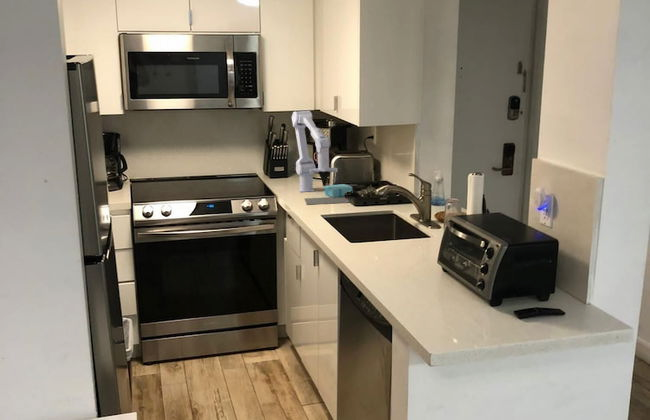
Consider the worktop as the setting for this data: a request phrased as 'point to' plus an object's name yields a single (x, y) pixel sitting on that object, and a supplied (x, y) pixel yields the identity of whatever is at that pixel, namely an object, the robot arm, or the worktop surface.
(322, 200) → the mat
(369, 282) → the worktop surface
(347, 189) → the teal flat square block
